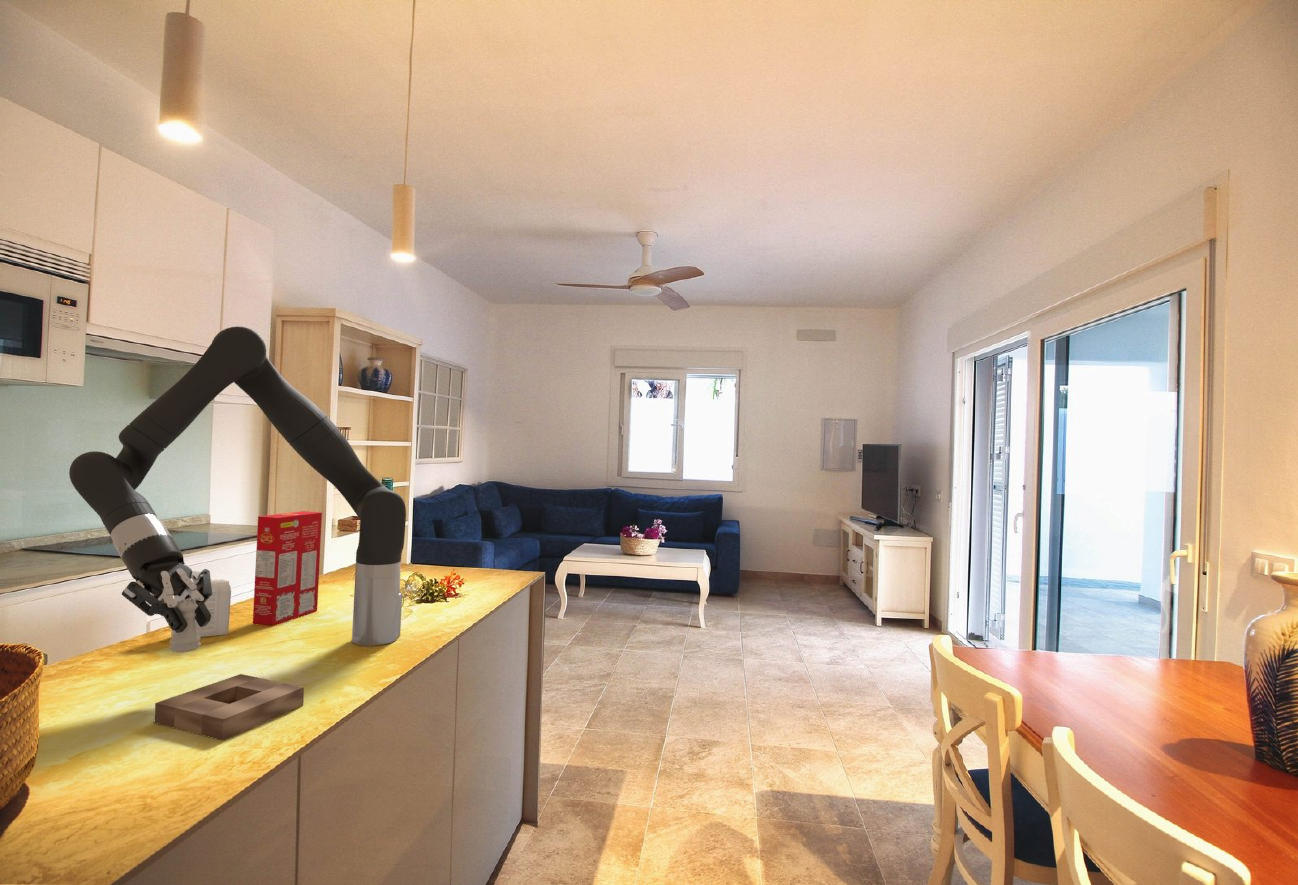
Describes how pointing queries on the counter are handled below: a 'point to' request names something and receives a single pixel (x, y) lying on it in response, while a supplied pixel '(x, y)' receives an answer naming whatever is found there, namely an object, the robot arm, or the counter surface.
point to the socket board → (229, 706)
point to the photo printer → (215, 609)
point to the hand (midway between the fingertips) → (194, 626)
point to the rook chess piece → (186, 629)
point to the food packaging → (286, 567)
